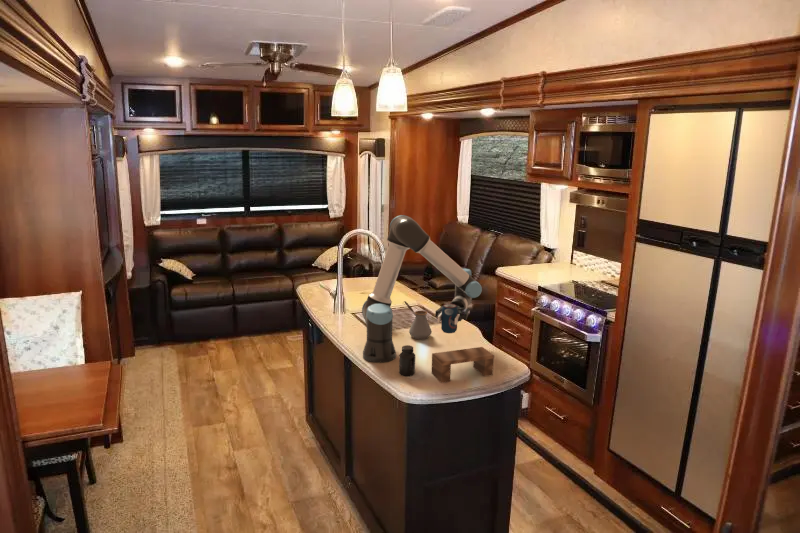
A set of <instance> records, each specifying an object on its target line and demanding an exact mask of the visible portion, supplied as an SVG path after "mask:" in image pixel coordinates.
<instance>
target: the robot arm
mask: <svg viewBox="0 0 800 533" xmlns="http://www.w3.org/2000/svg"><path fill="white" fill-rule="evenodd" d="M386 242H387V243H388V246H387V249H386V253H385V255H384V258H383V261H382V264H381V266H380V270H379V273H378V276H377V277H376V278H377V279H376V282H375V284H374V288H373V291H372V292H371V293H369V294H368V295H367V298H366V301H364V303H363V304H362V308H361V314H362V317H363V319H364V322H365V323H366V324H365V325H366V341H365V345H364V347H363V350H362V358H363V359H364V360H365V361H368V362H371V363H388V362H391V361H393V360H395V359H396V358H397V357H396V356H397V351H396V348H395V345H394V341H393V318H394V313H393V308H392V307H391V306H392V303H393V301H392V299H391V296H392V294H393V290H394V287H395V285H396V281H397V279H398V276H399V272H400V270H401V267H402V264H403V261H404V258H405V255H406V252H407V251H408V250H412V251H413V252H414V253H417V254H420V255H421V256H422V257H423V258H425V259H426V260H427V261H428V262H429V263H430V264H431V265H433V266H434V268H436V269H437V270H438V271H439V272H441V274H443V275H444V276H445V277H446V278H448V280H450V281H451V282H452V283H453V284H454V298H453V299H452V300H451V302H450V303H449V304H455V305H456V307H457V309H458V315H457V316H456V318H455V325H456V324H457V325H458V323H459V322H461V321H462V320H464V321H467V320H468V317H469V315H470V314H471V312H470V311H471V309H470V308H468V307H469V306H470V305H471V303H472V300H473V299H475V298H478V297H479V296H480V295H481V293H482V291H483V288H482V285H481V284H480V282H478V281H477V280H476V279H475V278H473V277H472V270H471V269H470V268H463V267H461V266H460V265H459V264H458V263H457V262H456V261H455V260H453V259H452V258H451V257H450V256H449V255H448V254H447V253H445V252H444V251H443V250H442V249H441V248H440V247H439V246H437V244H436V243H435V242H433V241H432V240H431V237H430V235H429V234H428V233H427V232H426V231H425V230H424V229H423V228H422V226H421V225H419V223H418V222H417V221H416V220H414V219H413V218H412V217H411V216H408V215H404V214H403V215H402V214H400V215H397V216H395V217H393V218H392V219H391V222H390V224H389V233H388V236H387V238H386ZM442 308H443V305H441V306H440V307H439V308H438V309H436V310H435V317H436V318H437V324H438V323H440V322H442Z"/></svg>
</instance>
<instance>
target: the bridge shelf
mask: <svg viewBox="0 0 800 533" xmlns="http://www.w3.org/2000/svg"><path fill="white" fill-rule="evenodd" d="M494 358H495V355H494V354H493V353H492V352H490V351H489V350H488V349H486V348H484V347H483V346H478V347H477V346H476V347H471V348H464V349H463V348H462V349H456V350H447V351H441V352H434V353H431V375H433V376H434V377H435V379H436V380H438V381H439V382H440V383H442V384H443V383H449V382H451V372H452V368H451V367H452V365H456V364H463V363H471V362H472V363H473V364H472V366H473V367H472V368H474V369H475V370H476V371H477V372H479V374H481V375H482V376H484V377H488V376H493V375H494V362H495V360H494Z"/></svg>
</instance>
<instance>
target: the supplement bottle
mask: <svg viewBox="0 0 800 533" xmlns="http://www.w3.org/2000/svg"><path fill="white" fill-rule="evenodd" d="M398 357H399V361H398V362H399V363H398V373H399V375H400V376H402V377H406V378H407V377H412V376H414V375H416V374H415V373H416V354H415V352H414V346H412V345H409V344H408V345H406V344H405V345H402V347H401V352H400V353H399V356H398Z"/></svg>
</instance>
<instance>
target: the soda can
mask: <svg viewBox="0 0 800 533" xmlns="http://www.w3.org/2000/svg"><path fill="white" fill-rule="evenodd" d="M442 306H443V308H442V320H441V321H440V322H441V328H440V329H441V331H442V332H443V333H445V334H455V333H456V332H457V330H458V323H457V324H456V325H455V318H456V316H457V315H458V309H457V307H456V305H455V304H450V303H444V304H443V305H442Z"/></svg>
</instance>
